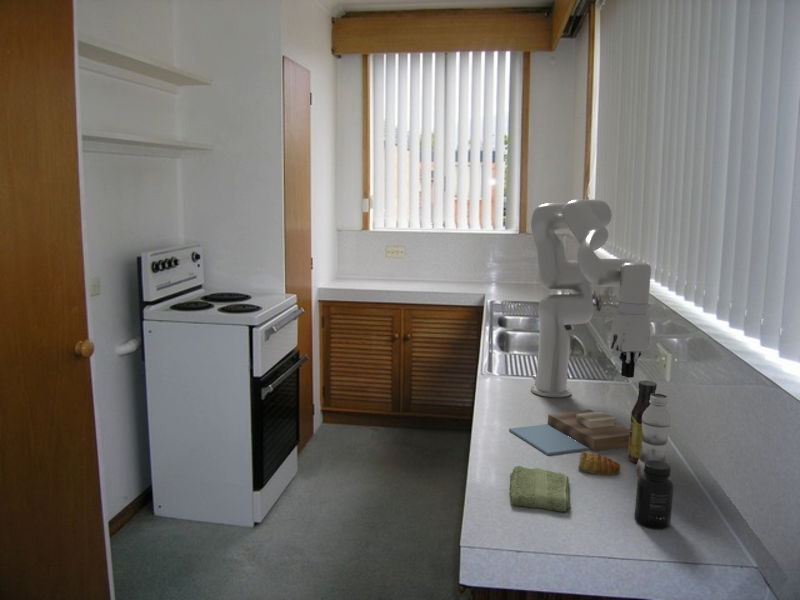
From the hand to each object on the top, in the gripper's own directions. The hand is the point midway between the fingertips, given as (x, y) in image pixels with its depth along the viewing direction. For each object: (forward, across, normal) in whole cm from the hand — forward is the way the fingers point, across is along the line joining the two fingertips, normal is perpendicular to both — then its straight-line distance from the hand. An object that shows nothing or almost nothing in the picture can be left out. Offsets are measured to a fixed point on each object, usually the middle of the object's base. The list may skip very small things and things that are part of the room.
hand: (627, 376), depth 190 cm
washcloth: (+17, +44, +25) cm, 53 cm away
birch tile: (+12, +9, -1) cm, 15 cm away
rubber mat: (+15, +24, -1) cm, 28 cm away
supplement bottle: (+17, +30, +44) cm, 56 cm away
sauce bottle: (+16, +10, +18) cm, 26 cm away
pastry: (+16, +24, +19) cm, 34 cm away
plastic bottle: (+16, +16, +28) cm, 36 cm away
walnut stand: (+15, +10, -1) cm, 18 cm away
